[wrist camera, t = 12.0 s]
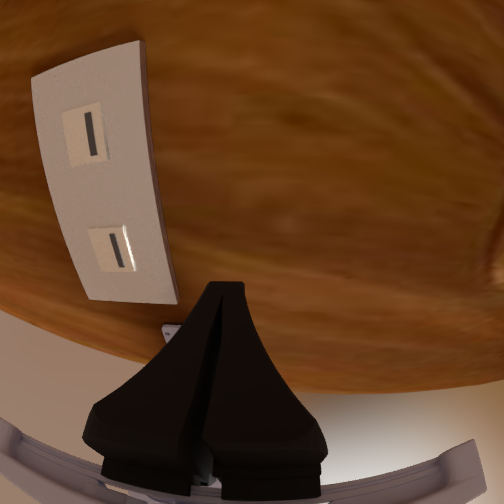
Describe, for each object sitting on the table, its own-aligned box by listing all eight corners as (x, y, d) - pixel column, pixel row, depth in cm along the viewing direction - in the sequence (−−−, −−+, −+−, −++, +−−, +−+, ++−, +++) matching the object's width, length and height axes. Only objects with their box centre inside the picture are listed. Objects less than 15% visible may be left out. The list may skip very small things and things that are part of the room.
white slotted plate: (179, 296, 24) (176, 306, 23) (93, 292, 24) (87, 301, 23) (145, 41, 13) (137, 39, 12) (39, 76, 13) (28, 78, 12)
